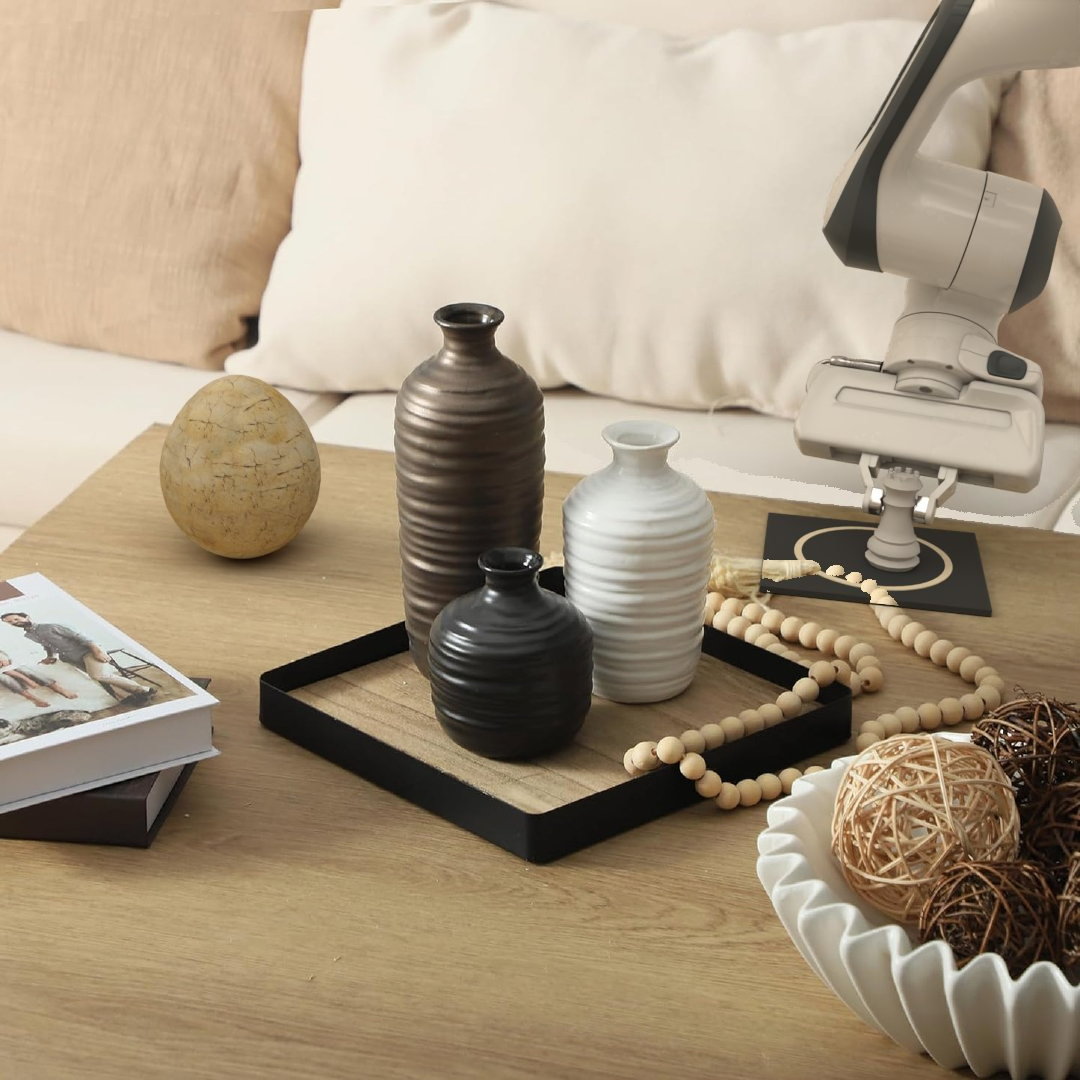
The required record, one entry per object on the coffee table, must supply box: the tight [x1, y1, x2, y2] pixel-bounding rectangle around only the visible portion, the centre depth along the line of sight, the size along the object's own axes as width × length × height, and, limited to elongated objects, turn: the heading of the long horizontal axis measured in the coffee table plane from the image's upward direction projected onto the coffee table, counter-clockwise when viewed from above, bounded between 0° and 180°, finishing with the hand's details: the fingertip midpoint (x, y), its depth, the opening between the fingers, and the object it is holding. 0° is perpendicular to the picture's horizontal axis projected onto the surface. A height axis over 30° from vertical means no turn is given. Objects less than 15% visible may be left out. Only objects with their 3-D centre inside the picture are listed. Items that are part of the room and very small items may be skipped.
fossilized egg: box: [159, 374, 322, 560], centre depth 118 cm, size 13×13×15 cm
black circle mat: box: [758, 512, 993, 618], centre depth 123 cm, size 18×16×1 cm
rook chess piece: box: [865, 467, 924, 572], centre depth 120 cm, size 4×4×8 cm
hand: (896, 516), depth 120 cm, fingers closed on rook chess piece, 3 cm apart
